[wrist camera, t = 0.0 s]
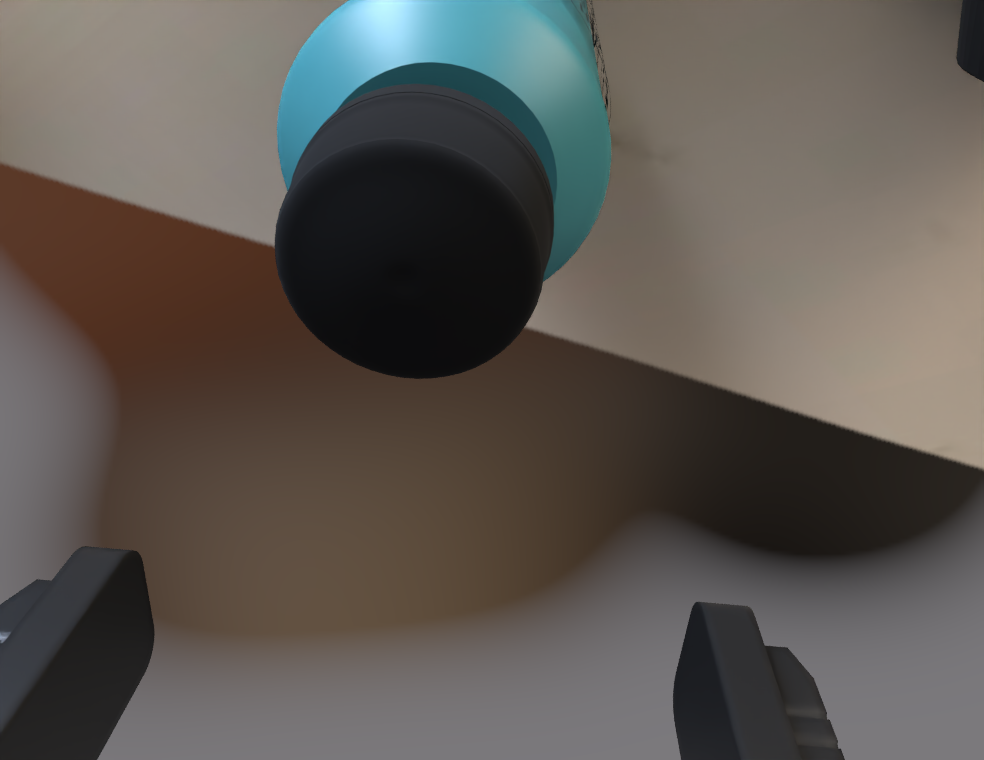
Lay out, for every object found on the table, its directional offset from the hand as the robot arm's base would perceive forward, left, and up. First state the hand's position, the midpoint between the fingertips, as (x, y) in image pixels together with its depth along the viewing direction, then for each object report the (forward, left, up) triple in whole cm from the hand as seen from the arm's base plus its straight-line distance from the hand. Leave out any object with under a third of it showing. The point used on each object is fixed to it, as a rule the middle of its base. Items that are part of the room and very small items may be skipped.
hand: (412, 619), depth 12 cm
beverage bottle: (-3, -2, -23) cm, 23 cm away
